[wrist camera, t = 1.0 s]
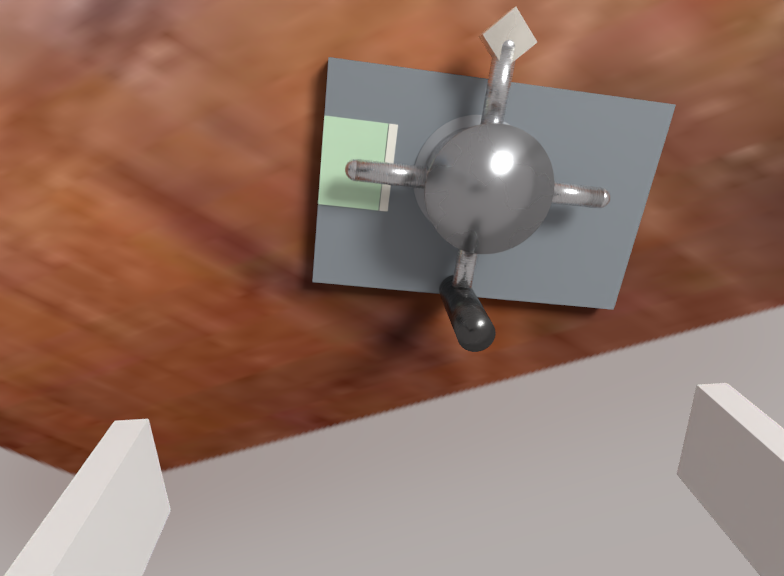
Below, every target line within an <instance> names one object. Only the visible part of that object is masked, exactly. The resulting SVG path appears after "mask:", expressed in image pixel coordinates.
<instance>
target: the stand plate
mask: <svg viewBox="0 0 784 576" xmlns="http://www.w3.org/2000/svg"><path fill="white" fill-rule="evenodd" d="M487 83H488V79H484V78H477V77H470V76H462V75H455V74H448V73H440V72H433V71H426V70H419V69H411V68H404V67H397V66H389V65H382V64H375V63H368V62H360V61H353V60H346V59H338V58H331V57H329V60H328V74H327V87H326V101H325V115H324V128H323V142H322V155H321V169H320V183H319V197H318V212H317V226H316V240H315V254H314V268H313V282H318V283H329V284H339V285H350V286H361V287H372V288H383V289H394V290H405V291H416V292H427V293H438V294H440V293H439V287H440V284H441V282H442V281H443V280H444V279H445V278H446V277H448V276H451V275H454V270H455V264H456V259H457V253H458V248H456V247H455V246H453V245H451V244H450V243H448V242H447V241H446V240H445V239H444V238H443V237H442V236H441V235H440V234H439V233H438V232H437V230H436V229H435V227H434V226H433V224H432V222H431V220H430V218H429V216H428V213H427V210H426V206H425V200H424V189H420V188H411V187H402V186H393V185H384V184H375V183H366V182H358V181H352V180H350V179H349V178H348V177H347V176H346V174H345V166H346V164H347V162H348V161H350V160H352V159H363V160H372V161H380V162H389V163H397V164H406V165H414V166H423V167H425V166H426V163H427V160H428V158H429V156H430V154H431V152H432V151H433V149H434V148H435V147H436V145H437V144H438V143H439V142H440V141H441V140H442V139H443V138H445V137H446V136H447V135H449V134H450V133H452V132H454V131H456V130H459V129H461V128H465V127H469V126H475V125H480V123H481V117H482V112H483V106H484V100H485V95H486V89H487ZM675 106H676V105H674V104H667V103H659V102H652V101H645V100H637V99H630V98H623V97H616V96H608V95H601V94H594V93H586V92H579V91H572V90H564V89H557V88H550V87H543V86H535V85H528V84H521V83H513V82H511V86H510V91H509V97H508V102H507V107H506V112H505V117H504V123H503V124H506V125H511V126H514V127H517V128H519V129H521V130H523V131H525V132H527V133H528V134H530V135H531V136H532V137H534V138H535V139H536V140H537V141H538V142H539V143H540V144H541V146H542V147H543V148H544V150H545V151H546V153H547V155H548V157H549V159H550V162H551V164H552V168H553V173H554V182H559V183H568V184H576V185H585V186H594V187H602V188H605V189H607V190H608V191H609V193H610V202H609V203H608V205H607V206H605V207H603V208H599V209H597V208H588V207H580V206H571V205H562V204H553V203H551V206H550V209H549V211H548V213H547V216H546V217H545V219H544V221H543V222H542V224H541V225H540V226H539V228H538V229H537V230H536V231H535V232H534V233H533V234H532V235H531V236H530V237H529V238H528V239H526V240H525V241H524V242H522V243H521V244H519V245H518V246H515V247H513V248H511V249H509V250H506V251H503V252H499V253H495V254H478V258H477V263H476V268H475V273H474V279H473V284H472V289H473V290H474V292H475V294H476V296H477V297H482V298H493V299H504V300H515V301H526V302H537V303H548V304H559V305H569V306H580V307H591V308H602V309H613V310H614V306H615V303H616V300H617V296H618V293H619V290H620V287H621V283H622V280H623V277H624V273H625V270H626V267H627V264H628V260H629V257H630V254H631V250H632V247H633V244H634V241H635V237H636V234H637V231H638V227H639V224H640V221H641V217H642V214H643V211H644V208H645V204H646V201H647V198H648V194H649V191H650V188H651V185H652V181H653V178H654V175H655V171H656V168H657V165H658V162H659V158H660V155H661V152H662V148H663V145H664V142H665V139H666V135H667V132H668V129H669V125H670V122H671V119H672V116H673V112H674V109H675Z"/></svg>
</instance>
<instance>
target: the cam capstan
mask: <svg viewBox="0 0 784 576" xmlns="http://www.w3.org/2000/svg"><path fill="white" fill-rule="evenodd" d="M478 37H479V38H480V40H481V41H482V43H483V44H484V46H485V48H486V49H487V51H488V52H489V54H490V55H491V57H492V61H491V66H490V72H489V78H488V83H487V89H486V95H485V100H484V106H483V112H482V117H481V123H480V125H475V126H469V127H465V128H461V129H459V130H456V131H454V132H452V133H450V134H449V135H447V136H446V137H445V138H443V139H442V140H441V141H440V142H439V143H438V144H437V145H436V147H435V148H434V149H433V151H432V152H431V154H430V156H429V158H428V160H427V163H426V166H425V167H423V166H414V165H406V164H397V163H389V162H380V161H372V160H363V159H352V160H350V161H348V162H347V164H346V166H345V174H346V176H347V177H348V178H349V179H350V180H352V181H358V182H366V183H375V184H384V185H393V186H402V187H411V188H420V189H424V200H425V206H426V210H427V213H428V216H429V218H430V220H431V222H432V224H433V226H434V227H435V229H436V230H437V232H438V233H439V234H440V235H441V236H442V237H443V238H444V239H445V240H446V241H447V242H448V243H450V244H451V245H453V246H455V247H456V248H458V253H457V259H456V264H455V270H454V275H451V276H448V277H446V278H445V279H444V280H443V281H442V282H441V284H440V287H439V293H440V296H441V299H442V301H443V304H444V306H445V309H446V311H447V314H448V316H449V319H450V321H451V324H452V326H453V329H454V332H455V334H456V337H457V339H458V342H459V344H460V345H461V346H462V347H463V348H464V349H466V350H468V351H472V352H478V351H482V350H484V349H486V348H487V347H489V346H490V345H491V344H492V342H493V341H494V338H495V328H494V326H493V324H492V322H491V320H490V319H489V317H488V315H487V313H486V312H485V310H484V308H483V306H482V304H481V303H480V301H479V299H478V297H477V296H476V294H475V292H474V290H473V289H472V284H473V279H474V273H475V268H476V263H477V258H478V254H495V253H499V252H503V251H506V250H509V249H511V248H513V247H515V246H518V245H519V244H521V243H522V242H524V241H525V240H526V239H528V238H529V237H530V236H531V235H532V234H533V233H534V232H535V231H536V230H537V229H538V228H539V226H540V225H541V224H542V222H543V221H544V219H545V217H546V216H547V213H548V211H549V209H550V206H551V203H553V204H562V205H571V206H580V207H588V208H597V209H599V208H603V207H605V206H607V205H608V203H609V202H610V193H609V191H608V190H607V189H605V188H602V187H594V186H585V185H576V184H568V183H559V182H554V173H553V168H552V164H551V162H550V159H549V157H548V155H547V153H546V151H545V150H544V148H543V147H542V146H541V144H540V143H539V142H538V141H537V140H536V139H535V138H534V137H532V136H531V135H530V134H528V133H527V132H525V131H523V130H521V129H519V128H517V127H514V126H511V125H506V124H503V123H504V117H505V112H506V107H507V102H508V97H509V91H510V86H511V81H512V76H513V71H514V65H515V60H516V59H517V58H518V57H520V56H521V55H522V54H523V53H525V52H526V51H527V50H528V49H530V48H531V47H532V46H533V45H535V44H536V43H537V41H536V39H535V37H534V36H533V34H532V32H531V31H530V29H529V27H528V26H527V24H526V22H525V21H524V19H523V17H522V16H521V14H520V12H519V11H518V9H517V7H514V8H512V9H510V10H509V11H508V12H506V13H505V14H504V15H503V16H502V17H500V18H499V19H498V20H497V21H496V22H494V23H493V24H492V25H491V26H490V27H488V28H487V29H486V30H485V31H484V32H482V33H481V34H480V35H479V36H478Z"/></svg>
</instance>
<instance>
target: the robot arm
mask: <svg viewBox="0 0 784 576" xmlns="http://www.w3.org/2000/svg"><path fill="white" fill-rule="evenodd" d="M677 475H678V476H679V478H680V479H681V480H682V481H683V482H684V484H685V485H686V486H687V487H688V489H689V490H690V491H691V492H692V493H693V495H694V496H695V497H696V498H697V500H698V501H699V502H700V503H701V504H702V505H703V507H704V508H705V509H706V510H707V512H708V513H709V514H710V515H711V517H712V518H713V519H714V520H715V521H716V523H717V524H718V525H719V526H720V528H721V529H722V530H723V531H724V532H725V534H726V535H727V536H728V537H729V538H730V540H731V541H732V542H733V543H734V545H735V546H736V547H737V548H738V549H739V551H740V552H741V553H742V554H743V555H744V557H745V558H746V559H747V560H748V562H749V563H750V564H751V565H752V566H753V568H754V569H755V570H756V571H757V573H758V574H759V575H760V576H784V428H782V427H781V426H780V425H779V424H777V423H776V422H775V421H774V420H772V419H771V418H770V417H769V416H767V415H766V414H765V413H764V412H762V411H761V410H760V409H759V408H757V407H756V406H755V405H754V404H752V403H751V402H750V401H749V400H748V399H746V398H745V397H744V396H743V395H741V394H740V393H739V392H737V391H736V390H735V389H734V388H733V387H731V386H730V385H729V384H728V383H718V384H701V385H697V386H696V390H695V395H694V399H693V404H692V409H691V413H690V417H689V422H688V426H687V431H686V435H685V440H684V444H683V449H682V453H681V458H680V462H679V466H678V471H677ZM170 511H171V509H170V505H169V501H168V497H167V493H166V489H165V484H164V481H163V476H162V472H161V468H160V464H159V460H158V456H157V452H156V448H155V444H154V439H153V435H152V431H151V427H150V423H149V419H138V420H122V421H114V422H113V424H112V425H111V427H110V428H109V429H108V431H107V432H106V434H105V435H104V436H103V438H102V439H101V441H100V442H99V443H98V445H97V446H96V448H95V449H94V450H93V452H92V453H91V455H90V456H89V457H88V459H87V460H86V462H85V463H84V464H83V466H82V467H81V469H80V470H79V471H78V473H77V474H76V476H75V477H74V479H73V480H72V481H71V483H70V484H69V485H68V487H67V488H66V490H65V491H64V492H63V494H62V495H61V497H60V498H59V499H58V501H57V502H56V503H55V505H54V506H53V508H52V509H51V511H50V512H49V513H48V515H47V516H46V517H45V519H44V520H43V522H42V523H41V525H40V526H39V527H38V529H37V530H36V532H35V533H34V534H33V536H32V537H31V539H30V540H29V541H28V543H27V544H26V545H25V547H24V548H23V550H22V551H21V553H20V554H19V555H18V557H17V558H16V560H15V561H14V562H13V564H12V565H11V566H10V568H9V569H8V571H7V572H6V574H5V575H4V576H143V573H144V571H145V568H146V566H147V564H148V561H149V559H150V557H151V555H152V552H153V550H154V548H155V546H156V543H157V541H158V539H159V536H160V534H161V531H162V529H163V527H164V525H165V522H166V520H167V518H168V516H169V513H170Z"/></svg>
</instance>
